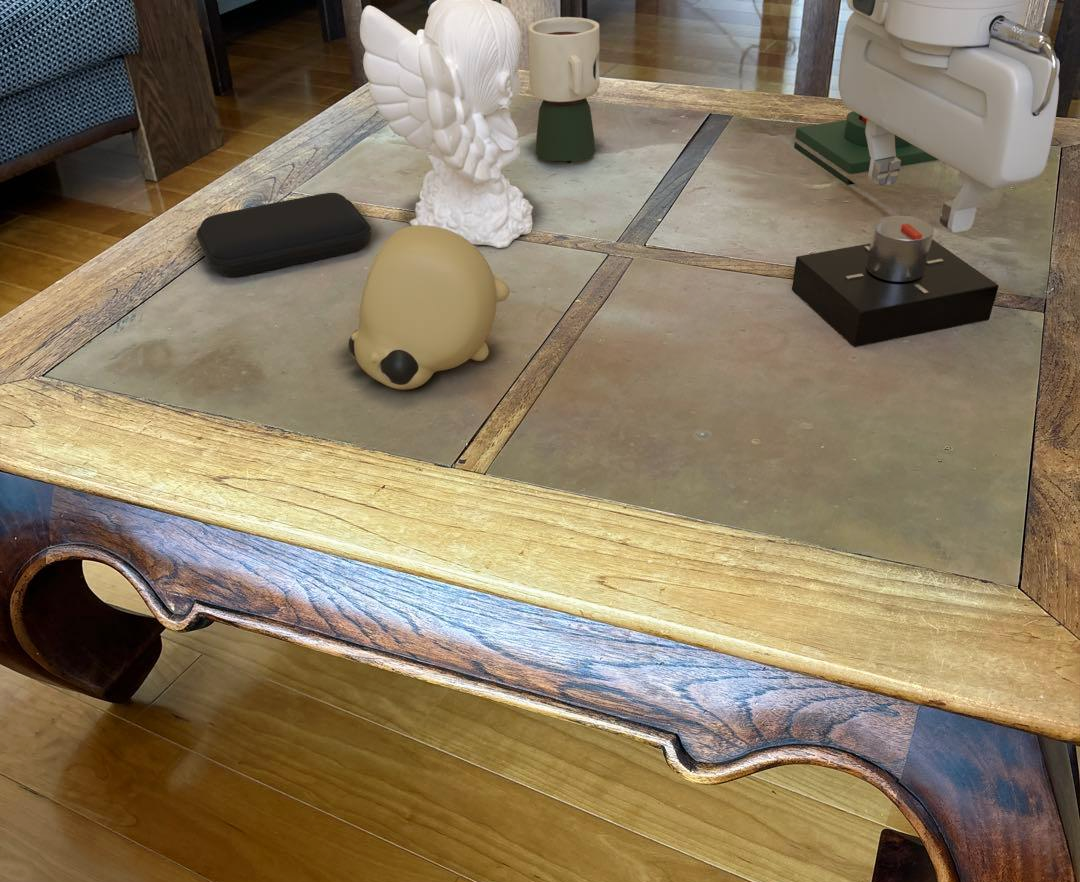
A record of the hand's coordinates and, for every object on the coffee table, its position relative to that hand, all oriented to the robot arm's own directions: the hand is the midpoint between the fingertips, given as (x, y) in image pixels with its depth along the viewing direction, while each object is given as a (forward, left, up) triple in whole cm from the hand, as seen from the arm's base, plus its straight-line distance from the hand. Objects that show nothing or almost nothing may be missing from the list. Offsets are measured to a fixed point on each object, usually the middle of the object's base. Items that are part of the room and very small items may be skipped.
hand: (916, 203), depth 77 cm
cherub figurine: (+28, -27, -9) cm, 40 cm away
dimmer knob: (0, -1, -6) cm, 5 cm away
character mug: (+14, -41, -9) cm, 44 cm away
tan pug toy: (+37, -5, -9) cm, 39 cm away
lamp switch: (-16, -29, -9) cm, 34 cm away
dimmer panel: (0, -1, -9) cm, 9 cm away
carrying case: (+45, -30, -9) cm, 55 cm away
